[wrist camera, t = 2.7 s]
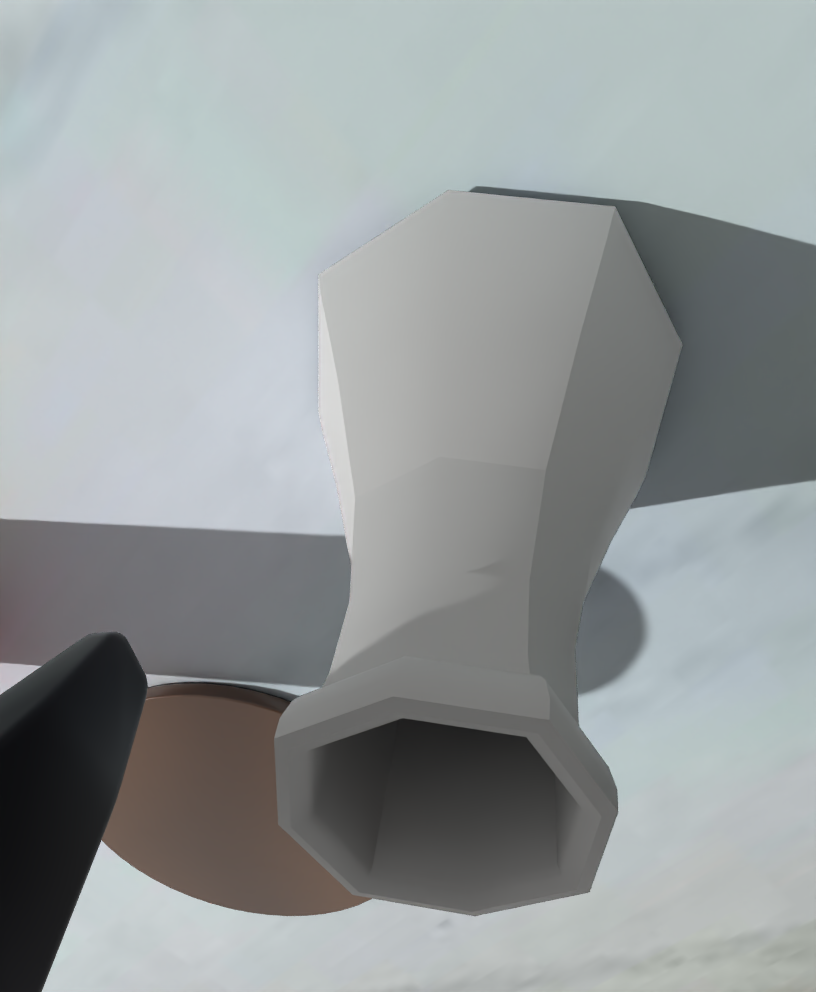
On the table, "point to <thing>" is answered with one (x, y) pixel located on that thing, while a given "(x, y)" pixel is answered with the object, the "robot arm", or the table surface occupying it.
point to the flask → (473, 547)
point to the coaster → (215, 805)
